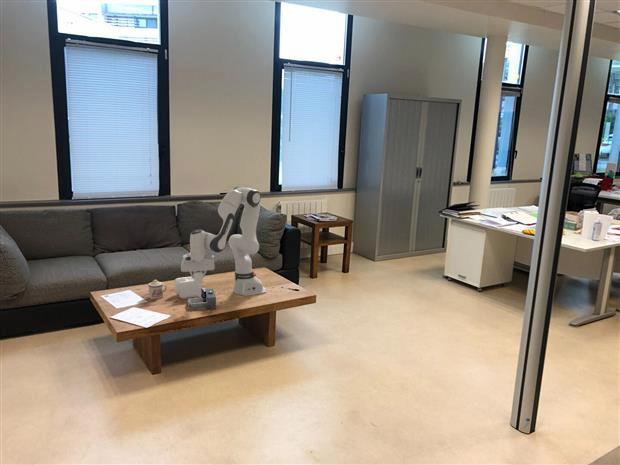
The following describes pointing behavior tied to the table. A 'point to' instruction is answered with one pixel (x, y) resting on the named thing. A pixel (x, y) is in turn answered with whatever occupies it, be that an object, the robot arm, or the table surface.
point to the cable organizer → (187, 287)
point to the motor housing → (199, 304)
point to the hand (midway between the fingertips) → (198, 277)
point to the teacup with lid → (156, 289)
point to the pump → (198, 277)
